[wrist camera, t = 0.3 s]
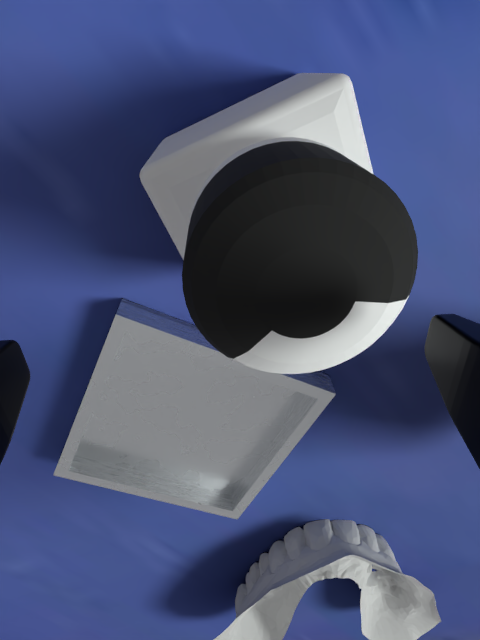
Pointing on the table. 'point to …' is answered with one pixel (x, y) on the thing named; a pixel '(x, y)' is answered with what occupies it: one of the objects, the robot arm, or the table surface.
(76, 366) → the table surface
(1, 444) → the robot arm
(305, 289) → the medicine bottle
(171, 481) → the tray
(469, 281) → the table surface
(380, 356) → the table surface
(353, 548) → the dental model
